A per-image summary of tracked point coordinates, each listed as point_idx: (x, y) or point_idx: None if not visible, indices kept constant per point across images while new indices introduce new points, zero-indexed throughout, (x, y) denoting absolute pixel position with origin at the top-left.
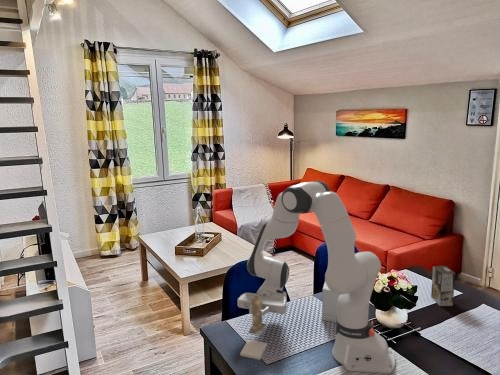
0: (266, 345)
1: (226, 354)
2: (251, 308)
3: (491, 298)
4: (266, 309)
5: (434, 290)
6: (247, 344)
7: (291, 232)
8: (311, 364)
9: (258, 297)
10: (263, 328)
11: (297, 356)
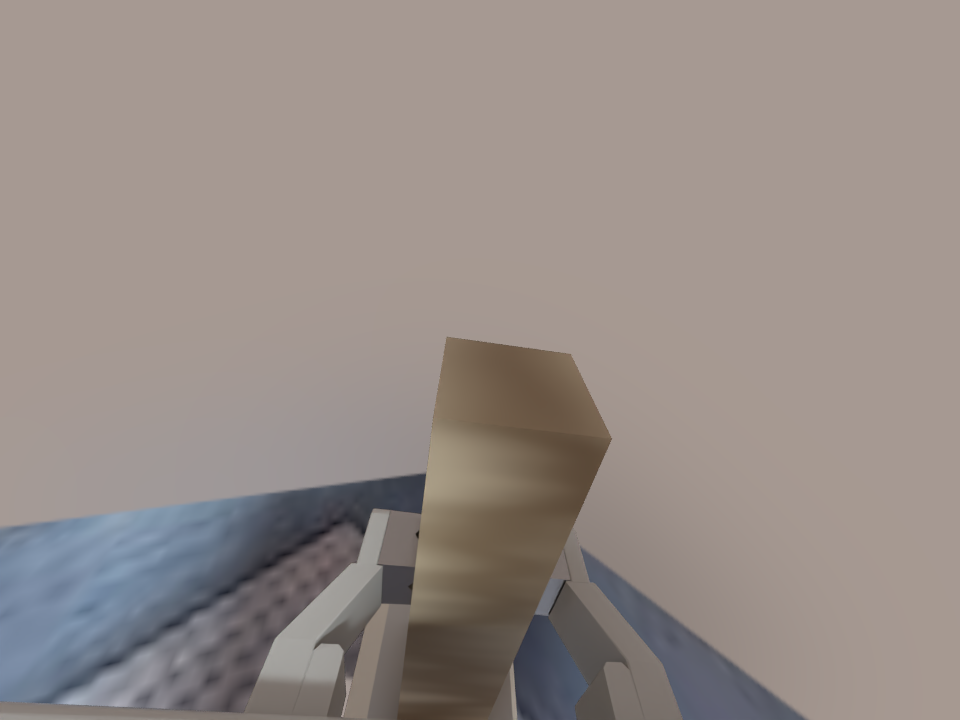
0: (351, 687)
1: None
2: (566, 561)
3: None
4: (326, 591)
5: None
6: None
7: None
8: (43, 566)
9: (484, 385)
10: (379, 674)
11: (107, 634)
